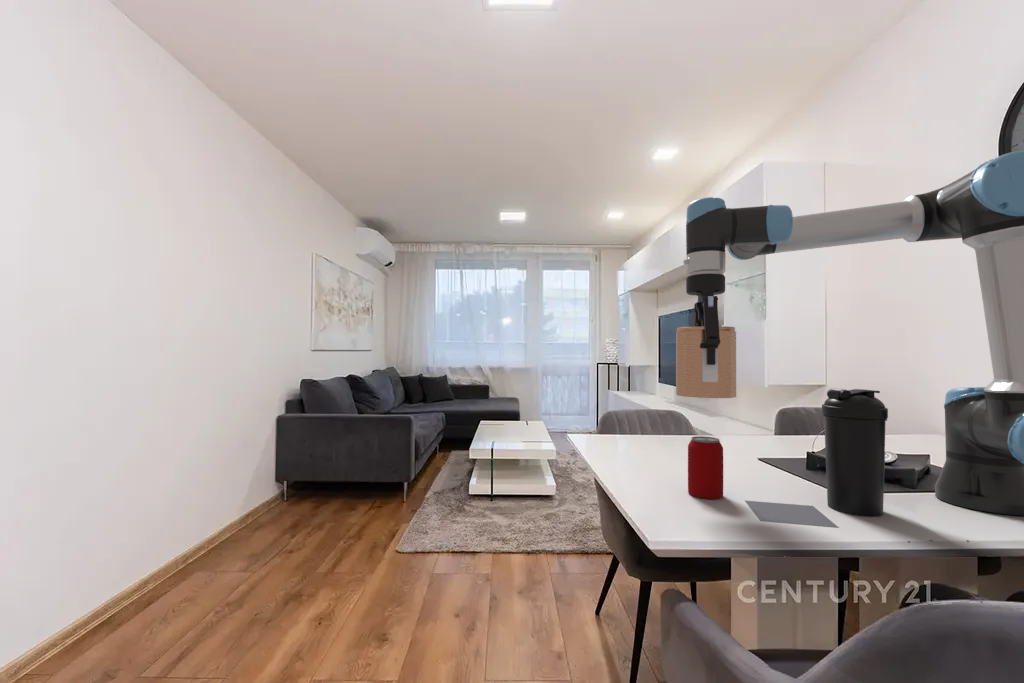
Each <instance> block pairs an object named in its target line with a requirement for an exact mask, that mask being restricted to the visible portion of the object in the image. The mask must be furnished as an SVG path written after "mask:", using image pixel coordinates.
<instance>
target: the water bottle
mask: <svg viewBox="0 0 1024 683" xmlns="http://www.w3.org/2000/svg"><path fill="white" fill-rule="evenodd" d="M875 394H881V392H880V390H875V389H874V390H870V389H860V388H858V389H857V388H855V389H848V390H847V389H844V388H843V389H842V388H841V389H840V388H829V389H828V390H827V392H826V396H827V399H826V400H825V401H824V403H823V404H821V414H822V417H823V422H824V449H825V471H826V474H825V475H826V495H827V496H826V497H827V499H826V501H827V507H828V508H829V509H831V510H833V511H835V512H839V513H843V514H846V515H852V516H855V517H856V516H857V517H865V518H867V517H868V518H877V517H882V516H883V515H884V500H885V498H884V497H885V496H884V494H885V489H884V488H885V473H886V472H885V469H886V468H885V467H886V465H885V464H886V461H885V460H886V422H887V421H888V419H889V412H888V411H889V408H888V407H886V406H885V405H886V404H884V403H883V401H882V400H880V399H879V398H877V397H876V396H875Z"/></svg>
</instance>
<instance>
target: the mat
mask: <svg viewBox="0 0 1024 683" xmlns="http://www.w3.org/2000/svg"><path fill="white" fill-rule="evenodd" d="M744 502H745V503H746V505H747V506H748V507H749V508H750V509H751V511H752V512H753V514H754V515H755V516H756V517H757V519H758V520H759V521H760V522H766V523H767V522H768V523H780V524H790V525H802V526H803V525H804V526H813V527H815V526H816V527H823V528H824V527H826V528H837V529H838V528H840V526H838V525H837V524H836V523H834V522H833V521H832V520H831V519H830V518H828V516H826V515H825V514H824V513H823V512H821V511H820V510H819V509H817V508H816V506H814V505H808V504H807V505H806V504H795V503H794V504H793V503H780V502H769V501H767V502H766V501H757V500H744Z"/></svg>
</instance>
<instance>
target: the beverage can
mask: <svg viewBox="0 0 1024 683" xmlns="http://www.w3.org/2000/svg"><path fill="white" fill-rule="evenodd" d="M687 492H688V494H690V495H691V496H692V497H695V498H698V499H702V500H703V499H704V500H719V499H721V498H723V496H724V447H723V445H722V443H721V441H720V438H717V437H711V436H699V435H698V436H692V437H691V439H690V441H689V443H688V444H687Z"/></svg>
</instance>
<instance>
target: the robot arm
mask: <svg viewBox="0 0 1024 683" xmlns="http://www.w3.org/2000/svg"><path fill="white" fill-rule="evenodd" d="M685 223H686V224H685V232H686V233H685V236H686V237H685V239H686V240H685V241H686V242H685V243H686V244H685V247H686V251H685V252H686V259H684V260H683V261H682V262H683V264H684V265H686V274H687V277H686V279H685V281H686V282H685V289H686V290H685V292H686V294H687V295H689V296H697V302H695V303H694V306H693V309H694V310H693V311H694V324H693V325H694V326H693V327H697V326H704V329H703V343H700V348H707V349H702V382H718V349H715V348H718V346H719V344H720V336H719V326H720V325H719V324H720V323H719V312H718V310H719V308H718V304H719V302H718V300H719V298H718V295H722V294H724V293H725V292H726V276H725V275H724V274H725V272H726V258H727V257H726V248H727V251H728V253H729V255H730V256H732V257H733V258H734V259H736V260H740V261H744V260H745V261H746V260H750V259H752V258H755V257H757V256H764V255H765V256H766V255H770V254H779V253H788V252H796V251H798V252H799V251H805V250H813V249H822V248H823V249H824V248H831V247H839V246H846V245H847V246H849V245H858V244H864V243H873V242H875V243H876V242H883V241H891V240H901V239H903V240H904V241H906V242H907V243H916V242H927V241H939V240H951V239H953V240H954V239H962V244H964V245H965V246H967V247H970V248H972V249H973V250H974V251H975V258H976V264H977V271H978V279H979V286H980V291H981V292H980V293H981V298H982V304H983V306H982V307H983V312H984V319H985V326H986V333H987V339H988V345H989V354H990V360H991V368H992V374H993V380H992V381H991V382H990V383H989V384H988V385H986V386H978V387H977V386H976V387H958V388H951V389H949V390H948V391H947V392H946V393H945V397H944V398H945V399H944V404H943V408H944V425H945V426H944V428H945V429H944V430H945V461H944V464H943V466H942V468H941V471H940V473H939V475H938V478H937V480H936V483H935V486H934V489H935V490H934V493H935V494H934V496H935V497H936V498H937V499H938V500H941V501H942V502H945V503H949V504H951V505H955V506H957V507H958V506H959V507H963V508H967V509H972V510H977V511H981V512H989V513H992V514H993V513H994V514H1000V515H1001V514H1002V515H1011V516H1024V150H1017V151H1012V152H1008V153H1007V152H1006V153H1004V154H1001V155H999V156H997V157H994V158H992V159H989V160H987V161H984V162H983V163H982V164H980V165H979V166H977V168H975V169H973V170H972V171H970V172H968V173H967V174H965V175H963V176H962V177H959V178H958V179H956V180H955V181H953V182H951V183H949V184H946V185H944V186H942V187H940V188H937V189H935V190H931V191H929V192H925V193H920V194H913V195H909V196H907V197H906V198H905V199H904V200H902V201H897V202H891V203H883V204H877V205H871V206H869V205H868V206H864V207H863V206H862V207H861V206H860V207H856V208H855V207H854V208H847V209H841V210H839V209H838V210H835V211H833V210H832V211H826V212H819V213H811V214H805V215H796V216H793V211H792V209H791V207H790V206H789V205H787V204H786V205H785V204H784V205H783V204H780V205H778V204H777V205H774V204H769V205H762V206H759V205H758V206H748V207H747V206H746V207H737V208H736V207H734V208H732V207H731V208H729V207H728V208H727V206H726V201H725V200H724V199H723V198H721V197H709V196H708V197H702V198H698V199H696V200H693V201H691V202H690V203H689V204H688V206H687V207H686V222H685Z"/></svg>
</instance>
